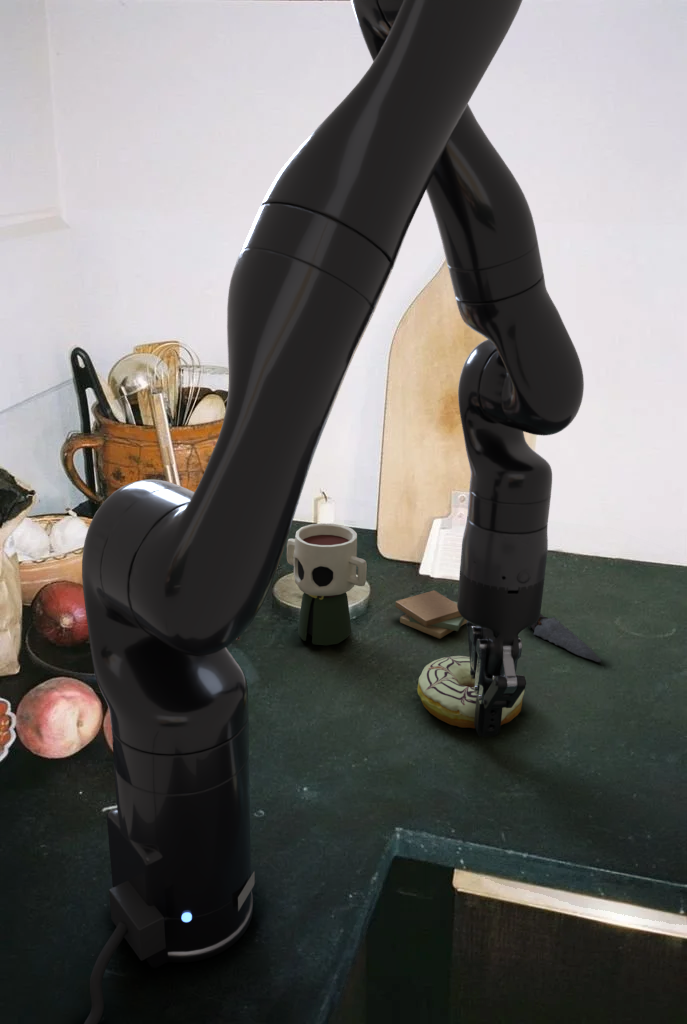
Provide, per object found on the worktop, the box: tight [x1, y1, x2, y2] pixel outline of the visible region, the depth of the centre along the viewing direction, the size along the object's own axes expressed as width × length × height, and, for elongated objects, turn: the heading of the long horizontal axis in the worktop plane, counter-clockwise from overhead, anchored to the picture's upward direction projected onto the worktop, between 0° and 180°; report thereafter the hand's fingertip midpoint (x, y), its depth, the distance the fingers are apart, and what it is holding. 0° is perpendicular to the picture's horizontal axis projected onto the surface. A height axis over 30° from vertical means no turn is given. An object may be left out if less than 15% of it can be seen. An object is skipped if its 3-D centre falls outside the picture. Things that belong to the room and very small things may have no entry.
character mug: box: [286, 522, 368, 646], centre depth 108 cm, size 11×7×13 cm, turn 56°
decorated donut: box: [417, 655, 526, 729], centre depth 96 cm, size 10×11×4 cm
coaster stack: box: [395, 589, 467, 640], centre depth 114 cm, size 9×8×2 cm
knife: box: [529, 613, 602, 663], centre depth 111 cm, size 17×2×5 cm
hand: (486, 732), depth 90 cm, fingers closed
